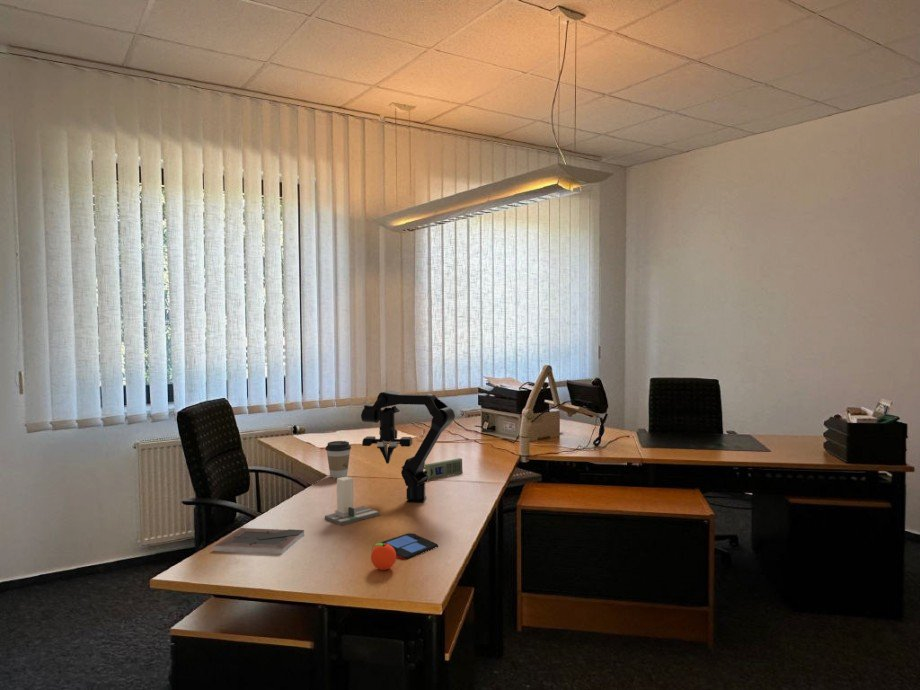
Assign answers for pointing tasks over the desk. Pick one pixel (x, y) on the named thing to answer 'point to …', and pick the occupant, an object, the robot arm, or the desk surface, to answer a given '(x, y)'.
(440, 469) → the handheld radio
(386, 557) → the clementine
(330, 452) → the coffee cup
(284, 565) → the desk surface
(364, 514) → the board
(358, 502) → the desk surface
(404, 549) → the game console
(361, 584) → the desk surface
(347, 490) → the white tall block
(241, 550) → the picture frame
